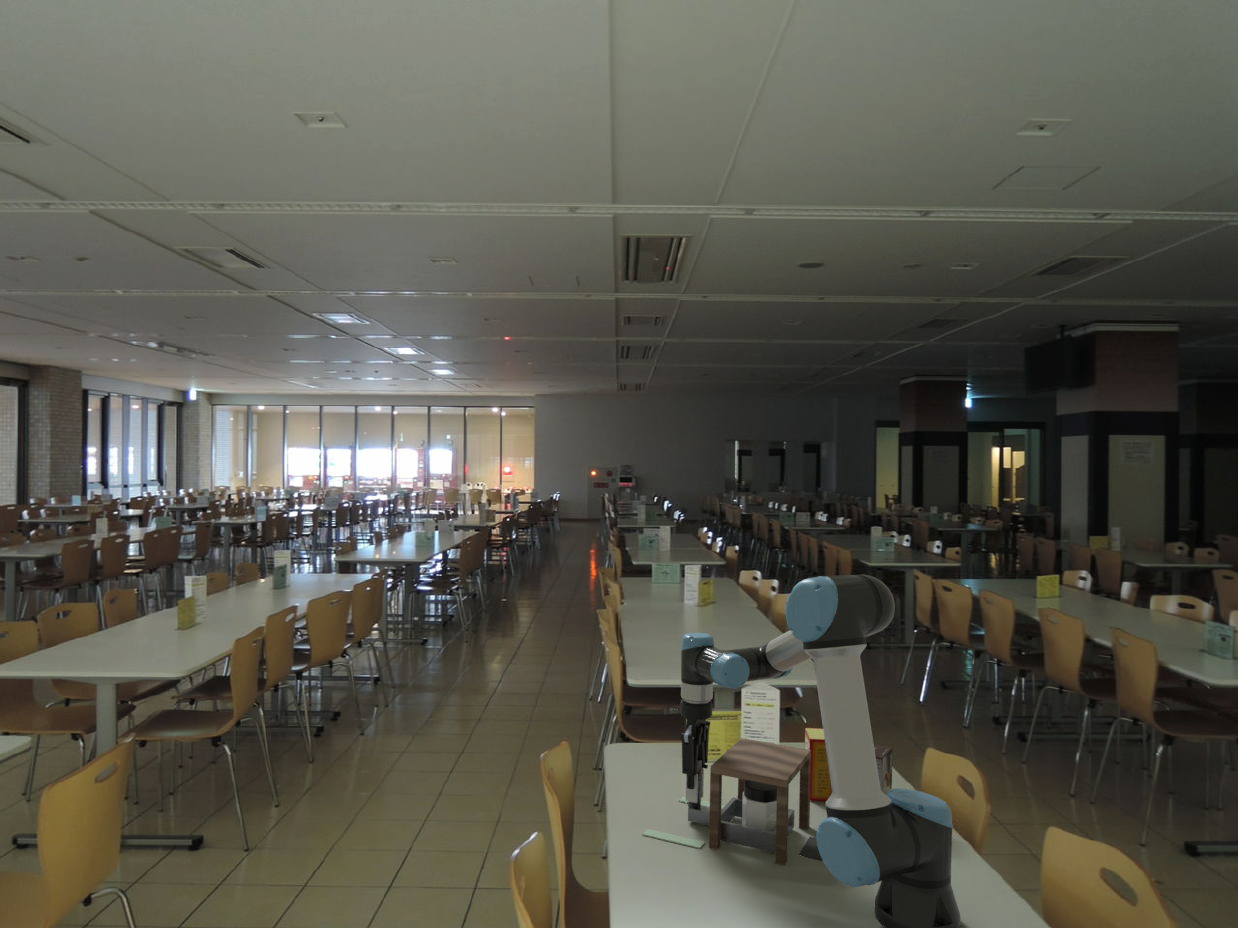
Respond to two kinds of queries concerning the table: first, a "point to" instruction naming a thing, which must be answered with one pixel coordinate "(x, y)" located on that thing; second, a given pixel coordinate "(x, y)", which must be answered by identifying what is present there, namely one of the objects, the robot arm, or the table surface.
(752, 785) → the jar
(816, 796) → the baking soda box
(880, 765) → the coffee box
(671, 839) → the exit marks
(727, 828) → the sled
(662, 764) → the table surface
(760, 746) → the small wooden table
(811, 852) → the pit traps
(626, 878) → the table surface
